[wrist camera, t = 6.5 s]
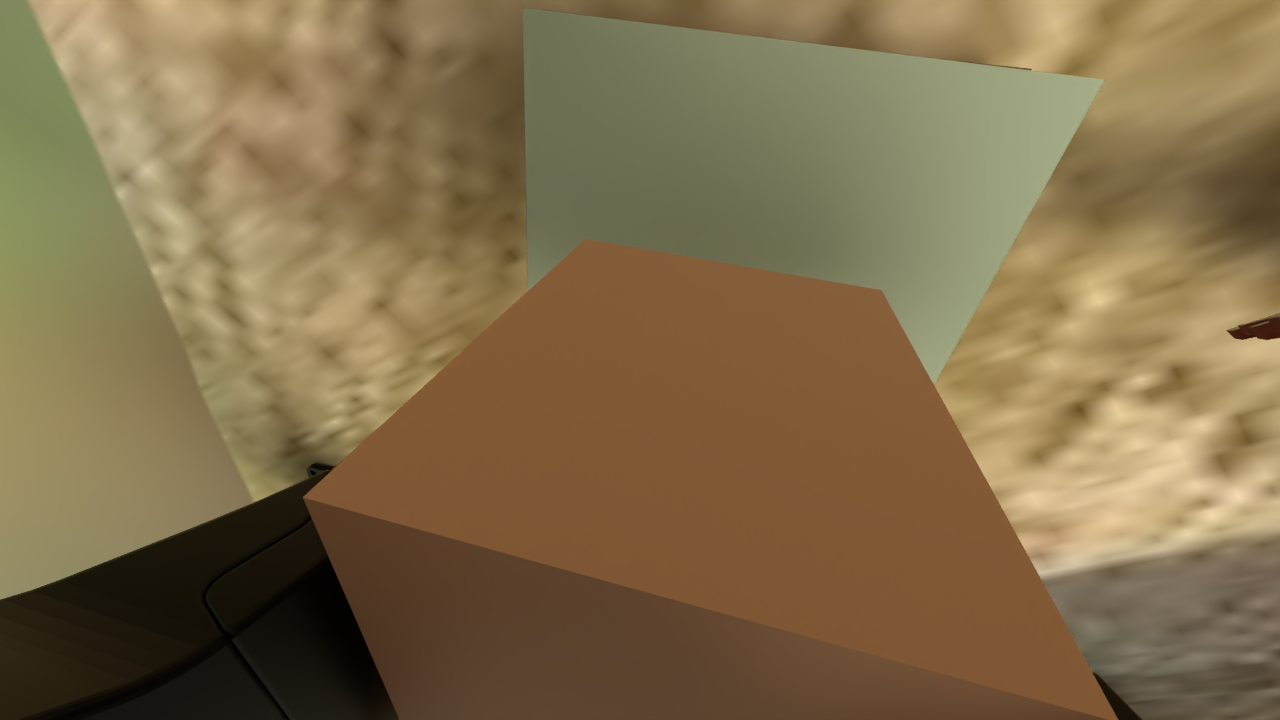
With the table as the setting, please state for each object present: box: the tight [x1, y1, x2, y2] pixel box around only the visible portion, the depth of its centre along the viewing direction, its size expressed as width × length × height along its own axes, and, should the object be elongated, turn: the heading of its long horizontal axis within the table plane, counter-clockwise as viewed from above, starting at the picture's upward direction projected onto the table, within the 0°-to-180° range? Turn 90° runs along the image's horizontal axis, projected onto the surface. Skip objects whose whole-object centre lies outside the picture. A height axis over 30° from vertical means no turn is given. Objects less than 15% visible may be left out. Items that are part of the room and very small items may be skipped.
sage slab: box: [523, 8, 1104, 384], centre depth 14 cm, size 13×10×3 cm
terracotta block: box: [303, 239, 1118, 720], centre depth 7 cm, size 5×5×6 cm
